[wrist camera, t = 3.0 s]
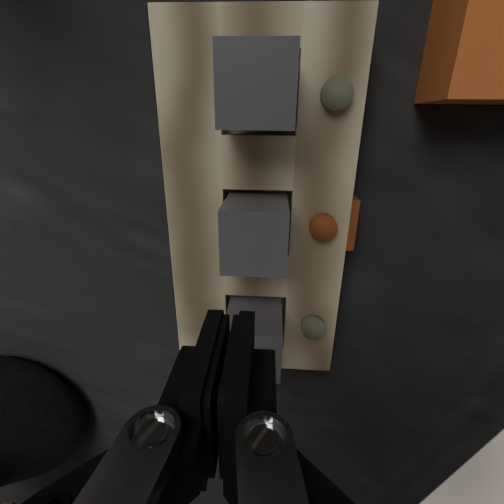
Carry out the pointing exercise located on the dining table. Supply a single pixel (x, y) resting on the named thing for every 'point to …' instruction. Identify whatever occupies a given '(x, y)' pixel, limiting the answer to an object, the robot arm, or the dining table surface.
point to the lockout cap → (463, 54)
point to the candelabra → (36, 420)
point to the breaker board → (264, 159)
